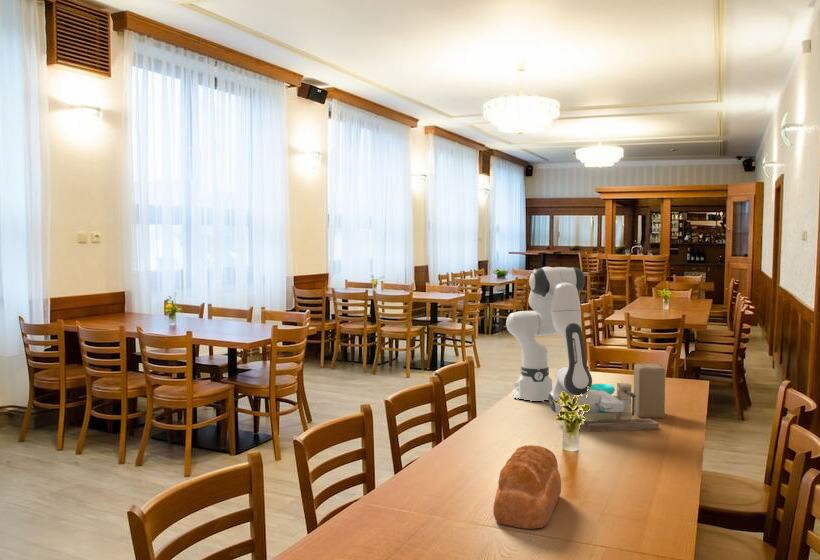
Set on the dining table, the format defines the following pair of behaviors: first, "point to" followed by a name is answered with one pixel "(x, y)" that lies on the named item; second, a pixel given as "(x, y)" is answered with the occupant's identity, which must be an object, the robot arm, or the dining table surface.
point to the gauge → (625, 394)
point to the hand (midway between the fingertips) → (626, 400)
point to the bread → (528, 488)
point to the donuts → (603, 389)
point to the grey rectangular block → (649, 390)
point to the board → (621, 425)
